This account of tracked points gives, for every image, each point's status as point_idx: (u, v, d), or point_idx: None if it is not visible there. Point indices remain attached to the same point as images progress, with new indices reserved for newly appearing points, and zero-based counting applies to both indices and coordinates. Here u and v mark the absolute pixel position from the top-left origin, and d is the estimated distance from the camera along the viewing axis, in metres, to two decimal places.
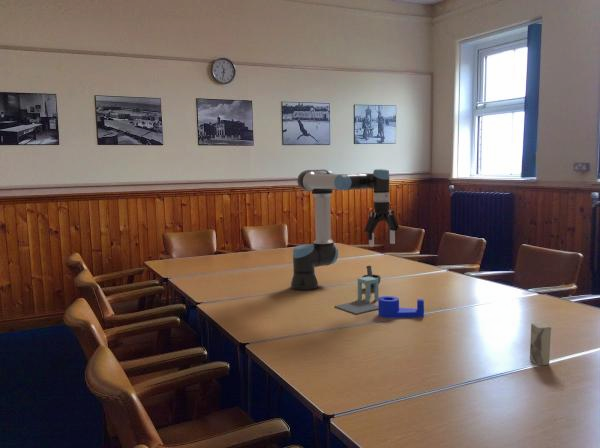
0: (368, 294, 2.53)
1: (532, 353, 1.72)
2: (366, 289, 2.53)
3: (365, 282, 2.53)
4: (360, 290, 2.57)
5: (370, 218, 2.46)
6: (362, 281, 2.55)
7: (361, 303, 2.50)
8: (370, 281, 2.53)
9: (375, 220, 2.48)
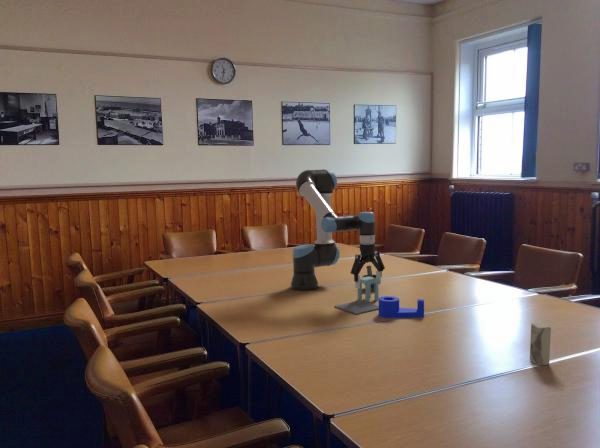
0: (368, 294, 2.53)
1: (532, 353, 1.72)
2: (366, 289, 2.53)
3: (365, 282, 2.53)
4: (360, 290, 2.57)
5: (356, 260, 2.51)
6: (362, 281, 2.55)
7: (361, 303, 2.50)
8: (370, 281, 2.53)
9: (361, 262, 2.53)
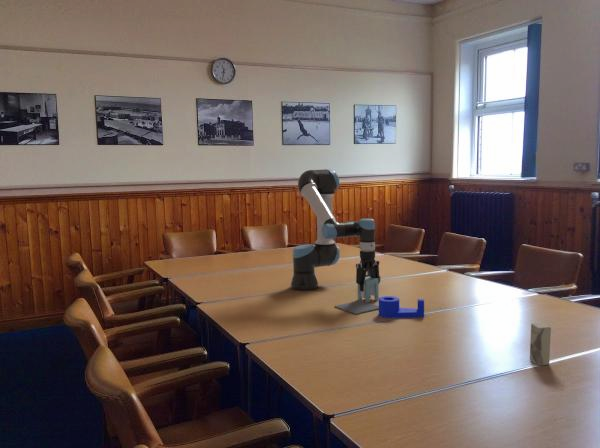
0: (368, 294, 2.53)
1: (532, 353, 1.72)
2: (366, 289, 2.53)
3: (365, 282, 2.53)
4: None
5: (358, 270, 2.53)
6: None
7: (361, 303, 2.50)
8: (370, 281, 2.53)
9: (363, 270, 2.54)
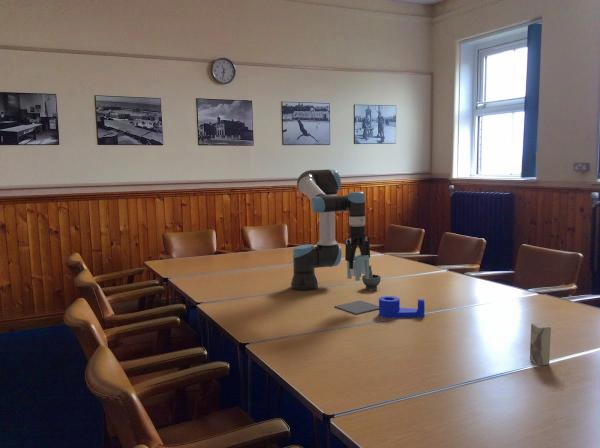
0: (358, 272, 2.37)
1: (532, 353, 1.72)
2: (356, 266, 2.37)
3: (355, 259, 2.37)
4: None
5: (347, 246, 2.37)
6: None
7: (361, 303, 2.50)
8: (360, 258, 2.37)
9: (352, 247, 2.39)
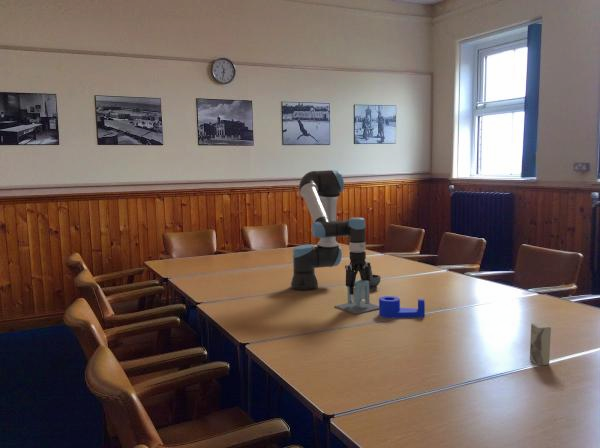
0: (358, 297, 2.39)
1: (532, 353, 1.72)
2: (356, 292, 2.39)
3: (355, 285, 2.39)
4: None
5: (347, 272, 2.39)
6: None
7: (361, 303, 2.50)
8: (360, 284, 2.39)
9: (353, 272, 2.40)
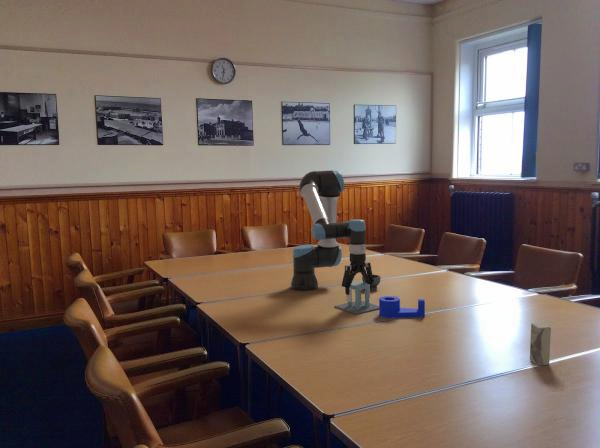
0: (358, 300, 2.39)
1: (532, 353, 1.72)
2: (356, 295, 2.39)
3: (355, 288, 2.39)
4: None
5: (346, 272, 2.38)
6: (352, 287, 2.41)
7: (361, 303, 2.50)
8: (360, 287, 2.39)
9: (351, 273, 2.40)
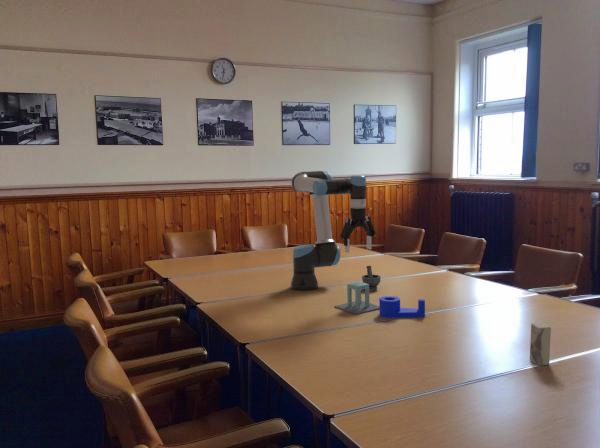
0: (358, 300, 2.39)
1: (532, 353, 1.72)
2: (356, 295, 2.39)
3: (355, 288, 2.39)
4: (350, 296, 2.44)
5: (346, 224, 2.48)
6: (352, 287, 2.41)
7: (361, 303, 2.50)
8: (360, 287, 2.39)
9: (351, 226, 2.50)
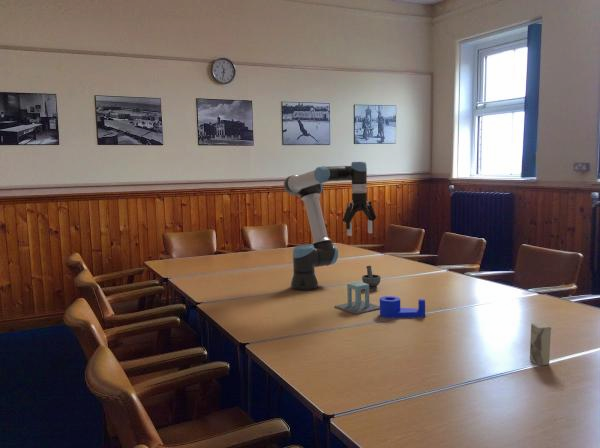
0: (358, 300, 2.39)
1: (532, 353, 1.72)
2: (356, 295, 2.39)
3: (355, 288, 2.39)
4: (350, 296, 2.44)
5: (348, 208, 2.58)
6: (352, 287, 2.41)
7: (361, 303, 2.50)
8: (360, 287, 2.39)
9: (353, 210, 2.60)
